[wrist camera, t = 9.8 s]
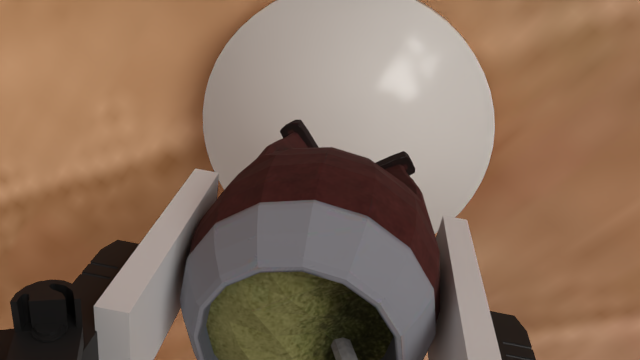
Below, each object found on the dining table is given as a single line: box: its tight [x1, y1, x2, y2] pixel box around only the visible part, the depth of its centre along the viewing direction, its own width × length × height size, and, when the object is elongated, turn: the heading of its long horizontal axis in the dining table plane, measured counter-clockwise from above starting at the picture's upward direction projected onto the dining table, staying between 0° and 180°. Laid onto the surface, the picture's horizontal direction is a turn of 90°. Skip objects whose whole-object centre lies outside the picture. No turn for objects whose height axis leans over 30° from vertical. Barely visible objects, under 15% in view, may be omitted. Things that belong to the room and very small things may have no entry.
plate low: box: [203, 0, 495, 234], centre depth 25 cm, size 13×13×2 cm
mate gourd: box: [180, 120, 440, 360], centre depth 13 cm, size 8×8×15 cm
